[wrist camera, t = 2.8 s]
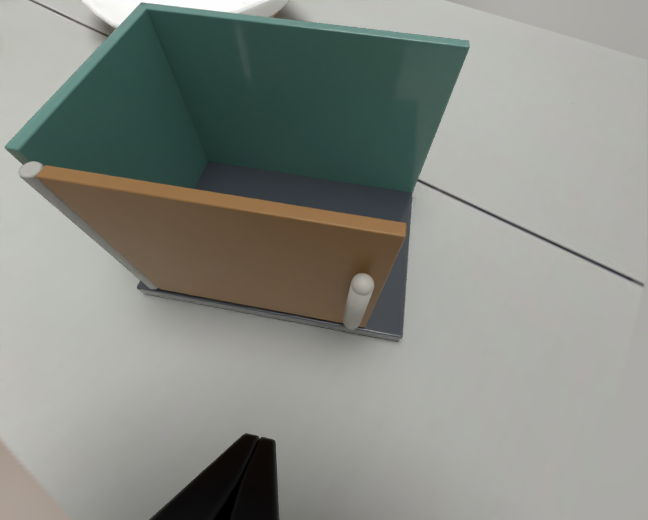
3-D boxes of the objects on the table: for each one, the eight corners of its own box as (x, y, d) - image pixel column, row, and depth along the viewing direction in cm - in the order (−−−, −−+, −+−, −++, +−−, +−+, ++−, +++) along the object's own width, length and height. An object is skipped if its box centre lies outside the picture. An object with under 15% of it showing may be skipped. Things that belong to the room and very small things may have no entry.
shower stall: (398, 342, 20) (482, 248, 10) (143, 294, 21) (-17, 166, 11) (409, 195, 26) (469, 39, 15) (207, 163, 27) (140, 1, 17)
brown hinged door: (363, 346, 18) (403, 268, 10) (139, 304, 19) (-9, 198, 11) (366, 316, 19) (407, 219, 11) (152, 277, 20) (25, 158, 12)
